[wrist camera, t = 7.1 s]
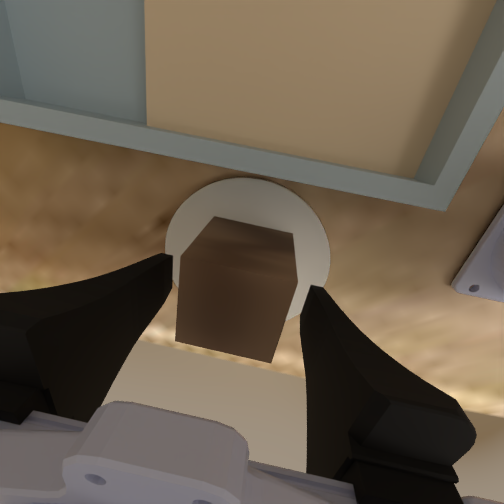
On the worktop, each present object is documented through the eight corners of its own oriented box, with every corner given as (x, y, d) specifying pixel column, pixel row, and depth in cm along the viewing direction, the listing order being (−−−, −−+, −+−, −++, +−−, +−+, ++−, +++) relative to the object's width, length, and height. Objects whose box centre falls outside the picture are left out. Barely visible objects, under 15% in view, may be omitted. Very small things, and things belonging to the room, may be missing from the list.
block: (292, 233, 13) (298, 282, 9) (274, 297, 15) (271, 363, 11) (214, 215, 13) (180, 256, 9) (206, 281, 15) (175, 341, 11)
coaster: (353, 197, 13) (356, 199, 12) (303, 333, 17) (303, 340, 17) (170, 160, 13) (165, 161, 12) (167, 304, 17) (164, 309, 17)
